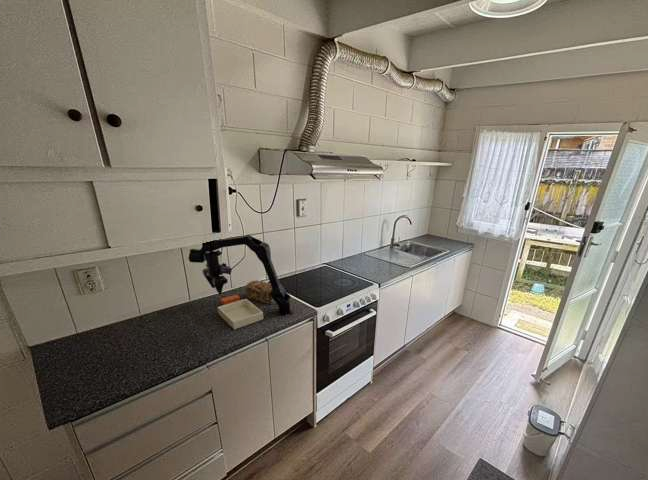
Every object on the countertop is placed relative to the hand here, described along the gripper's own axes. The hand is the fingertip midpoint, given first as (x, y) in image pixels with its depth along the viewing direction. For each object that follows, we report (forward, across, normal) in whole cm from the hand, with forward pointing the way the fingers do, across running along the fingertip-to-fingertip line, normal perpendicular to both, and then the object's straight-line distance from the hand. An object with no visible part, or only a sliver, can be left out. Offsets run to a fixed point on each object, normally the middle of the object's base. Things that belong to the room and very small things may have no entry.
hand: (216, 290), depth 156 cm
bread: (+12, -1, -26) cm, 28 cm away
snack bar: (+12, +4, -8) cm, 15 cm away
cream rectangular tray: (+12, -13, -6) cm, 19 cm away
